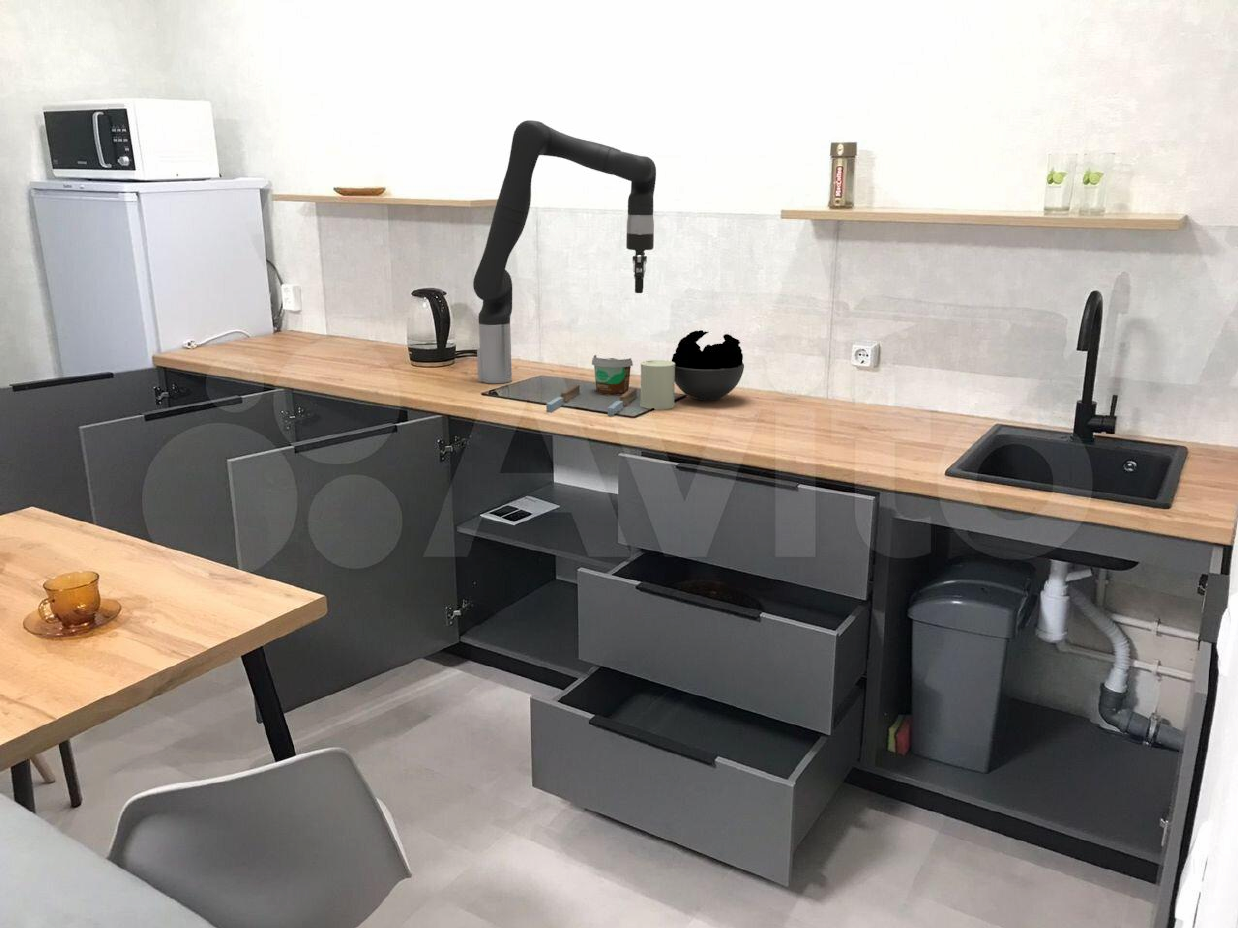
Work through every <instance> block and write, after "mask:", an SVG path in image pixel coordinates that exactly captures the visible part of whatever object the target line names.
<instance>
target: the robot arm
mask: <svg viewBox="0 0 1238 928" xmlns="http://www.w3.org/2000/svg"><path fill="white" fill-rule="evenodd" d="M539 156H545V157H546V156H547V157H555V158H560V159H565V160H567V161H571V162H573V163H575V164H578V165H579V166H582V167H585V168H588V169H591V170H593V171H597V172H601V173H604V174H607V175H612V176H616V177H619V178H620V179H623V180H626V181H629V182H631V183H630V184H631V185H630V194H629V195H628V199H627V218H626V240H625V241H626V243H625V244H626V245H625V246H626V249H627V250H628V251H629V250H630V251H635V253H634V255H633V256H632V264H633V265H632V271H633V273H634V274H633V277H634V278H633V279H634V293H635V294H643V292H644V279H645V273H646V271H647V269H646V268H647V262H648V257H647V256H646V253H645V251H652V250H654V241H655V235H654V233H655V222H654V194H655V188H656V181H657V180H656V178H657V167H656V164H655V162H654V161H653V159H652V158H650V157H648V156H644V155H638V154H634V153H630V152H625V151H622V150H620V149H618V148H615V147H614V146H613V147H612V146H608V145H605V144H602V143H598V142H595V141H591V140H586V139H581V138H577V137H574V136H570V135H568V134H565V133H563V132H561V131H558V130H556V129H554V128H552V127H550V126H548V125H546V124H545V123H544V122H541V121H539V120H532V119H531V120H529V119H528V120H524V121H522V122H520V123H519V124H518V125H517V126H516V128H515V129H514V131H513V136H512V141H511V146H510V152H509V157H508V158H509V159H508V163H507V168H506V172H505V175H504V178H503V181H502V184H501V188H500V192H499V194H498V198H497V201H496V203H495V208H494V212H493V215H492V216H493V217H492V220H491V224H490V228H489V232H488V236H487V241H486V244H485V246H484V247H485V248H484V251H483V254H482V257H481V258H480V261H479V264H478V267H477V269H476V272H475V275H474V278H473V283H472V285H473V291H474V293H475V295H476V296H477V297H478V299H480V300H482V307H481V309H480V312H479V313H478V317H477V318H478V319H477V320H478V338H479V341H478V342H479V348H478V349H477V350H476V358H477V359H476V360H477V363H476V364H477V382H481V383H486V384H503V383H510V382H511V381H512V380H513V372H512V369H513V368H512V342H511V341H512V338H511V335H512V334H511V316H512V311H513V283H512V282H513V281H512V277H511V275H510V273H509V272H508V271H507V269H506V266H507V263H508V260H509V258H510V255H511V253H512V251H513V249H514V248H515V246H516V244H517V243H518V241H519V239H520V237H521V236H522V233H523V231H524V229H525V227H526V224H527V220H528V216H529V212H530V208H531V201H532V200H531V199H532V179H533V174H534V170H535V168H536V164H537V161H538V158H539Z"/></svg>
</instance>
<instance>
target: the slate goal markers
mask: <svg viewBox="0 0 1238 928" xmlns="http://www.w3.org/2000/svg"><path fill="white" fill-rule="evenodd" d="M562 406H564V403H563V397H561V396H557V397H556V398H554V399H553V400H551V401H549V402H547V403H546V410H545V411H546V412H547V413H553V412H554V411H556V410H558V409H559V408H560V407H562ZM622 408H623V409H624V406H623V401H620V400H616V401H615V402H614V403H613V404H611V405H610V406H608V407H607V416H608V417H614V416H615V415H614V414H615V413H617V412H618V411H619V412H620V411H622V410H623V409H622ZM621 409H622V410H621ZM619 412H618V413H619ZM618 413H617V414H618Z"/></svg>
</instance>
